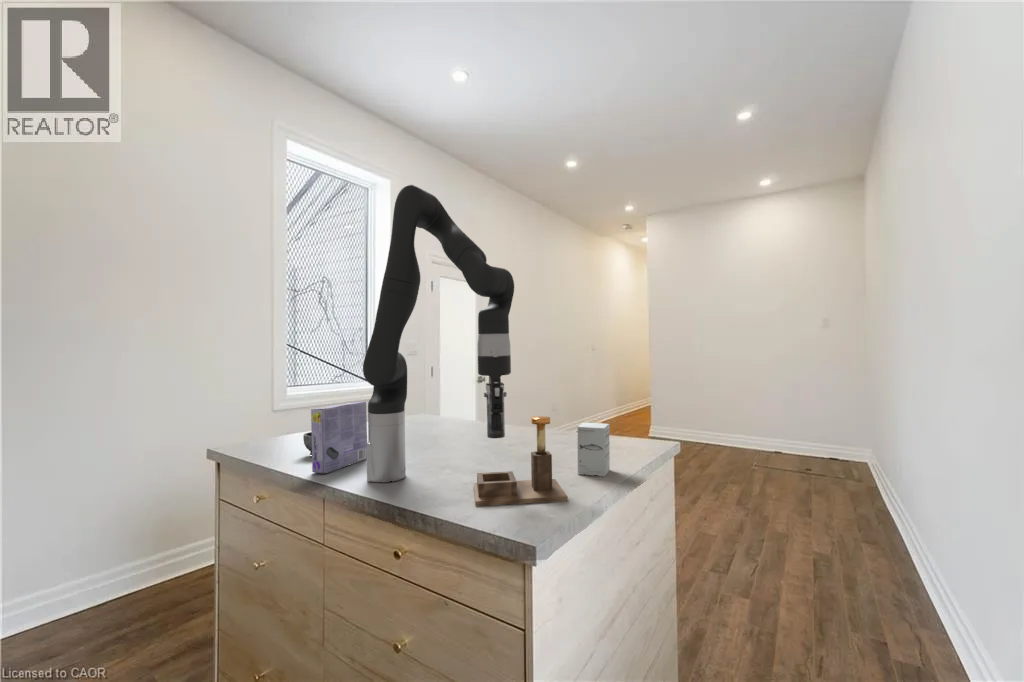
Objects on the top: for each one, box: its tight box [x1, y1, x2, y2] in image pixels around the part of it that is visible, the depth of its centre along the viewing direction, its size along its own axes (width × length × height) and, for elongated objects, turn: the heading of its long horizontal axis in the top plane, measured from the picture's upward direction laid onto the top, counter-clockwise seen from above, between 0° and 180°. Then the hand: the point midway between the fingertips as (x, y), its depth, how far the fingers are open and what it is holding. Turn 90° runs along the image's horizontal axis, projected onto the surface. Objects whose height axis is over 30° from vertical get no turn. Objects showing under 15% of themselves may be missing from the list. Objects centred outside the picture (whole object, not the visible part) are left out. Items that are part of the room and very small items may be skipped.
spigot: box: [483, 391, 508, 439], centre depth 105 cm, size 5×5×10 cm
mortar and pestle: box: [303, 431, 312, 456], centre depth 147 cm, size 11×9×12 cm
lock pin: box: [530, 415, 551, 455], centre depth 106 cm, size 4×4×10 cm
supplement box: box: [577, 422, 611, 477], centre depth 122 cm, size 7×7×13 cm
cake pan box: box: [310, 401, 368, 475], centre depth 133 cm, size 19×5×18 cm, turn 159°
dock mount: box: [473, 450, 569, 507], centre depth 106 cm, size 20×13×9 cm, turn 96°
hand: (495, 428), depth 105 cm, fingers closed on spigot, 4 cm apart
